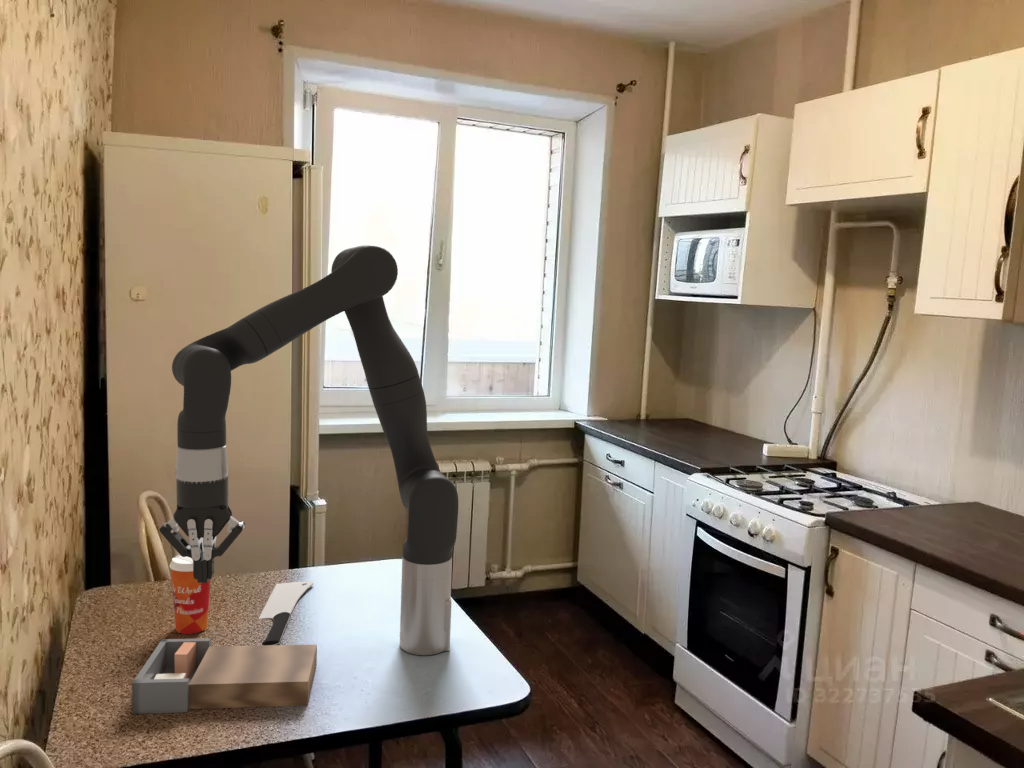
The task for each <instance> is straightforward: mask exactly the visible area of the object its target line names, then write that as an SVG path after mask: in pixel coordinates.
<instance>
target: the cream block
mask: <svg viewBox="0 0 1024 768" xmlns="http://www.w3.org/2000/svg"><path fill="white" fill-rule="evenodd" d="M154 679H186V673H171V674H156V676H155V678H154Z"/></svg>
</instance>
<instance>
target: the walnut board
mask: <svg viewBox="0 0 1024 768" xmlns="http://www.w3.org/2000/svg"><path fill="white" fill-rule="evenodd" d="M317 657H318V644H279V645H265V646H262V645H231V646H230V645H224V646H220V645H219V646H212V645H211V647H209V648H208V650H207V652H206V654H205V656H204V657H203V659H202V661H201V663H200V665H199V667H198V669H197V671H196V672H195V674H194V676H193V678H192V680H191V682H190V684H189V710H197V709H198V710H199V709H200V710H201V709H227V708H228V709H229V708H230V709H232V708H233V709H234V708H262V707H263V708H265V707H266V708H267V707H293V706H294V707H298V706H300V705H303V706H308V705H309V703H310V702H309V701H310V698H311V693H312V688H313V684H314V680H315V675H316V670H317V667H316V666H317V664H318V663H317V661H318V658H317Z"/></svg>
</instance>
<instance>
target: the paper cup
mask: <svg viewBox="0 0 1024 768" xmlns="http://www.w3.org/2000/svg"><path fill="white" fill-rule="evenodd" d="M169 569H170V570H171V581H172V583H171V584H172V597H173V598H172V599H173V612H174V623H175V624H174V625H175V630H176V632H177V633H178V632H179V633H178V634H180V633H182V634H181V635H194V634H193V633H195V634H198V632H199V633H202V632H203V630H204V631H205V630H206V629H208V622H209V621H208V620H209V611H210V609H209V607H210V593H211V592H210V589H211V579H210V580H209V581H208V583H198V581H197V579H194V576H193V560H192V558H190V557H187V556H186V557H182V556H181V555H180V554H178V555H175V556H174V557H172V559H171V562H170V564H169ZM201 631H202V632H201Z"/></svg>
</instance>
